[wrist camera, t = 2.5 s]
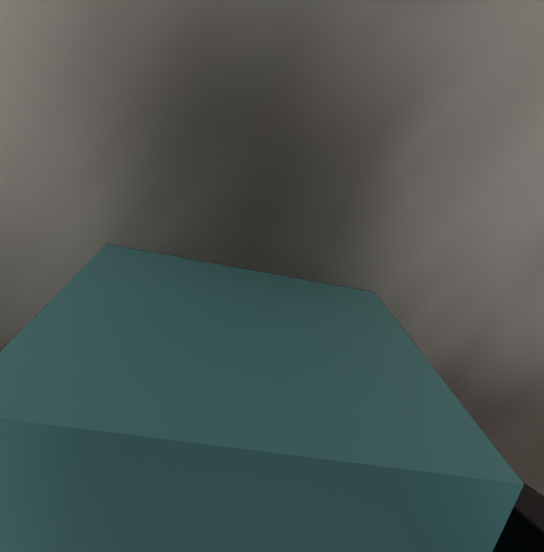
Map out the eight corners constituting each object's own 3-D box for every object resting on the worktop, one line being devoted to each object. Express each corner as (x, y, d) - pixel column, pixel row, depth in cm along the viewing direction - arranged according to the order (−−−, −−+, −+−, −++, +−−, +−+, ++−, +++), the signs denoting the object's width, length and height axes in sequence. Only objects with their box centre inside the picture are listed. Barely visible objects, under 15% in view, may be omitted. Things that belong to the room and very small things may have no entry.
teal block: (372, 291, 9) (523, 483, 4) (312, 494, 11) (373, 802, 6) (107, 242, 8) (-58, 411, 4) (83, 468, 10) (-56, 793, 5)
